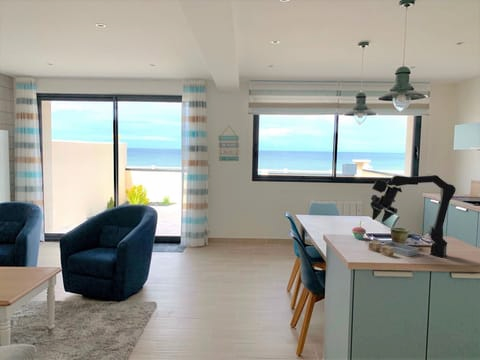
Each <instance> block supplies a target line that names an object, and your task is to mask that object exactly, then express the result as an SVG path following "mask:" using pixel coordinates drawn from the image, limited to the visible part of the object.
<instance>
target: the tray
mask: <svg viewBox="0 0 480 360" xmlns="http://www.w3.org/2000/svg"><path fill="white" fill-rule="evenodd" d="M382 246H390V247H393V248H394V254H397V255H400V256H404V257H411V256H415V255H419V254H420V248H419V247H414V246H410V245H407V244H405V245H404V244H400V243H396V242H392V241H390V242H384V243H381V247H382Z"/></svg>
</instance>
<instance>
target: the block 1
mask: <svg viewBox="0 0 480 360" xmlns="http://www.w3.org/2000/svg"><path fill="white" fill-rule="evenodd" d="M381 244H382V243H381V242H377V241H369V242H368V249H367V250H368V251H371V252H374V253H376V252H377V253H378V252H381Z"/></svg>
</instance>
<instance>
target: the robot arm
mask: <svg viewBox="0 0 480 360" xmlns="http://www.w3.org/2000/svg"><path fill="white" fill-rule="evenodd" d="M426 183H433V184H435V186H437V187H439V188H440V193H439V195H440V201H439V204H438V208H437V209H438V210H437V212H436V216H435V220H434V224H433V225H432V226H431V225H430V226H429V228H428V229H429V230H428V231H427V233H428V237H429V238H430V240H431V241H432V243H431V245H430V253H429V255H431V256H434V257H439V258H445V257H448V254H447V249H448V248H447V247H448V242H447V241H446V240H445V239H444V223H445V221H446V216H447V212H448V208H449V205H450V201H451V200H452V198H453V197H454V195H455V193H456V187H455V186H454V185H453V184H451V183H448V182H446V181H444V180H443V179H442V178H440V177H439V175H436V174H432V175H418V176H405V175H404V176H403V175H393V176H392V177H391V179H390V180H388V181H384V180H381V179H379V178H377V179H376V181H375V182H374V183H373V186H372V188H371V189H372V190H374V191H376V192H378V193H380V194H383V193H384V195H381V196H378V195H377V194H372V195H371V198H370V200H371V202H370V203H369V205H370V207H371V208H372V217H371V218H372V220H373V221H375V220H376V219H377V217H378V216H379V215H380V214H382V212H384V214H383V216H382V218H381V223H382V222H383V223H384V222H385V221H387V219H389V218H391V217H393V216H394V215H395V214H396V215H397V213H398V208H396V207H394V206H392V204H393V203H395V202H396V200H395V199H396V197H397V194H398V192H399V193H403V190H402V187H401V186H406V185H409V184H426ZM382 210H383V211H382Z"/></svg>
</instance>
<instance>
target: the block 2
mask: <svg viewBox="0 0 480 360" xmlns="http://www.w3.org/2000/svg"><path fill="white" fill-rule="evenodd" d="M380 255H381V256H385V257H387V258H388V257H394V255H395V253H394V248H393V247H390V246H382V247H381V248H380Z"/></svg>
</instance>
